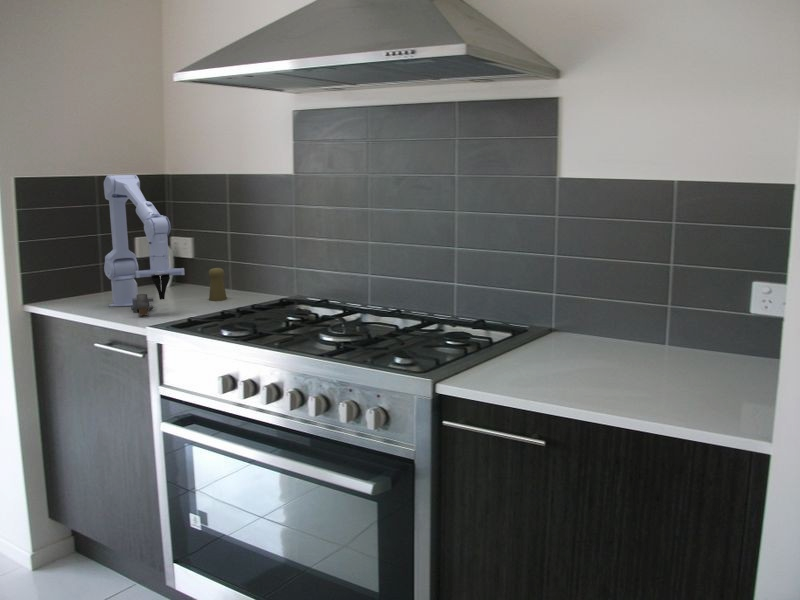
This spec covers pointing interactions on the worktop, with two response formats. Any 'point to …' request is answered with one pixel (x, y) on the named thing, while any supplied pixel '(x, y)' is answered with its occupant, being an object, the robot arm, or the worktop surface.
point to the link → (142, 303)
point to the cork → (217, 285)
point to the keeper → (150, 299)
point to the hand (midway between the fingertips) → (162, 298)
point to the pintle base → (147, 308)
